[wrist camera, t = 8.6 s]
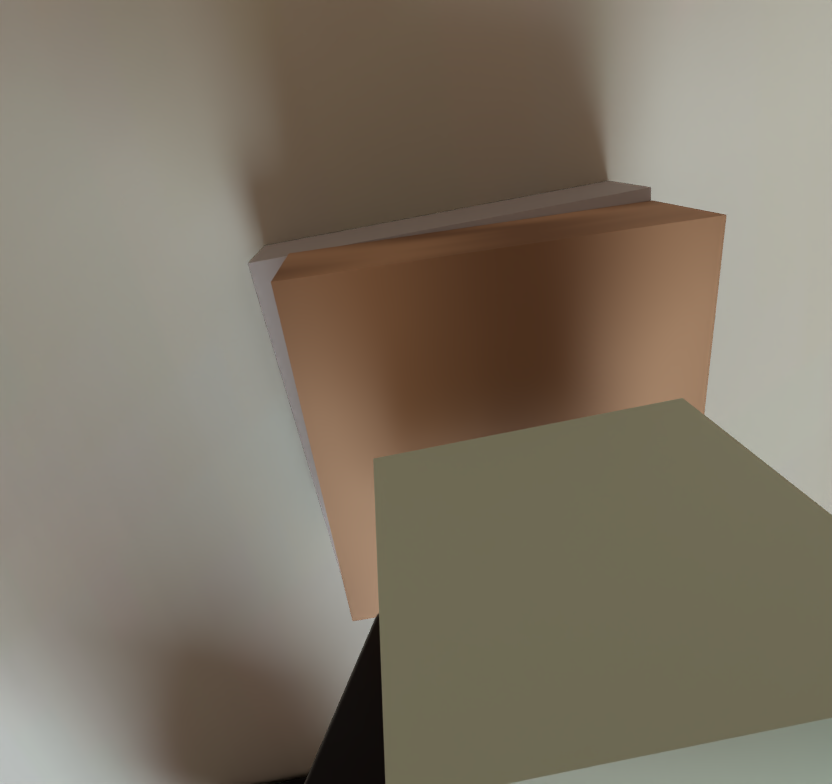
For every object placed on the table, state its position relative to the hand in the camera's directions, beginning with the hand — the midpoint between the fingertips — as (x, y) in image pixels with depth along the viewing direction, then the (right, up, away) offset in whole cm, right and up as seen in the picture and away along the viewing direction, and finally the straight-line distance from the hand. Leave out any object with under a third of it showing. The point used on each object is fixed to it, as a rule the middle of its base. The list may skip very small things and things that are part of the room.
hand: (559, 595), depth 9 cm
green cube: (0, 0, +1) cm, 1 cm away
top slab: (0, +3, +6) cm, 7 cm away
